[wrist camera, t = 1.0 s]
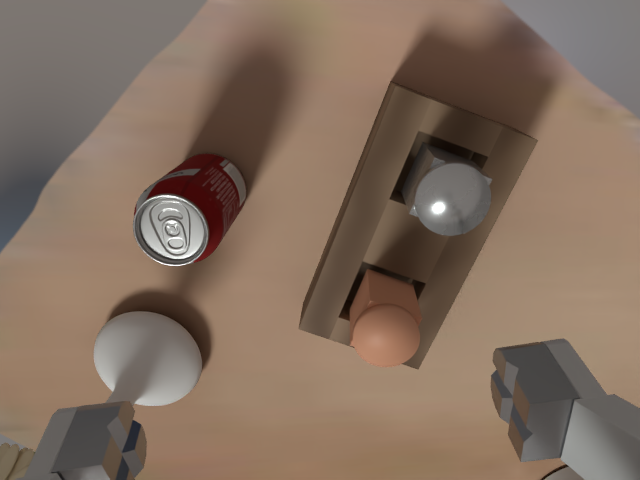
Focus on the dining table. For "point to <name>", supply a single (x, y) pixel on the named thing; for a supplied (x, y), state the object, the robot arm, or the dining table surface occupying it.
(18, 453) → the flower in vase
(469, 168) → the metal plunger
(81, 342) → the dining table surface
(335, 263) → the walnut block
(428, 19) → the dining table surface
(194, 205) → the soda can
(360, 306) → the terracotta plunger
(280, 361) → the dining table surface
